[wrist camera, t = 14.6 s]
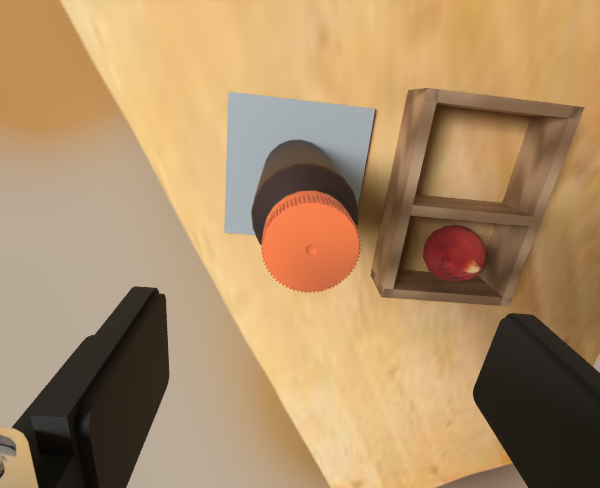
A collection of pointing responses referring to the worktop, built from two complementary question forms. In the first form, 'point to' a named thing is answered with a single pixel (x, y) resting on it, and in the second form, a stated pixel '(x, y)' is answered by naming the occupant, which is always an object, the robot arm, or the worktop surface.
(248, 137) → the mat
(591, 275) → the worktop surface
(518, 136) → the worktop surface
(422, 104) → the rack
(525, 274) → the worktop surface
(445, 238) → the onion
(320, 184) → the vinegar
